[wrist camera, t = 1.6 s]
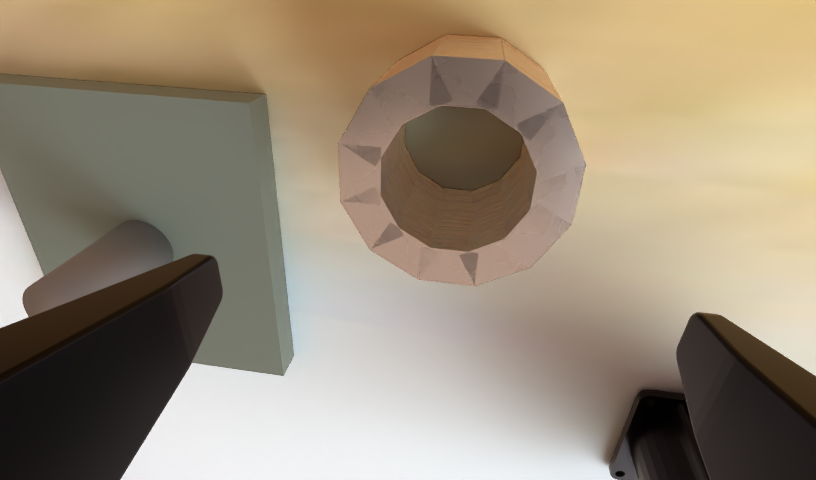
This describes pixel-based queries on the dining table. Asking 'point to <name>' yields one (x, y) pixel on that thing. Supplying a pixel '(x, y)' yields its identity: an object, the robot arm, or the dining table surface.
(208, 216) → the post stand
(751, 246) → the dining table surface
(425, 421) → the dining table surface
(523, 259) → the tan faceted hollow ring
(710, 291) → the dining table surface
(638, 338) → the dining table surface
